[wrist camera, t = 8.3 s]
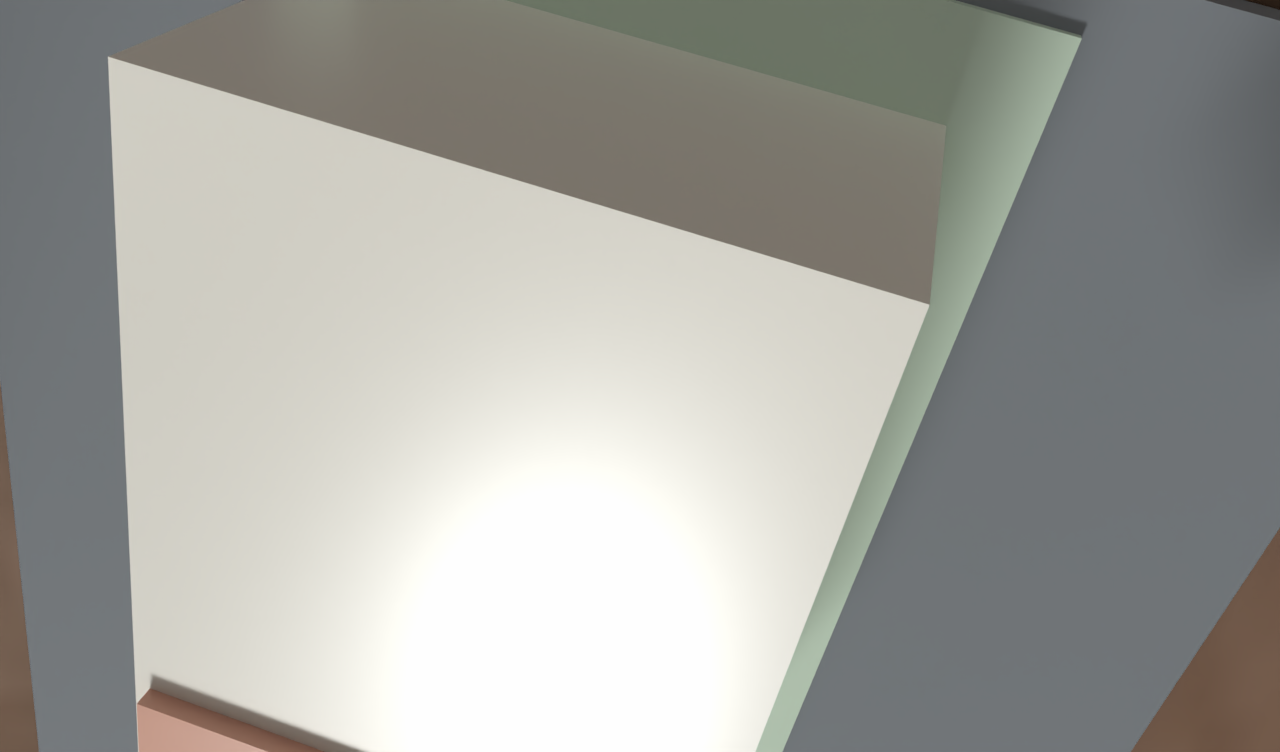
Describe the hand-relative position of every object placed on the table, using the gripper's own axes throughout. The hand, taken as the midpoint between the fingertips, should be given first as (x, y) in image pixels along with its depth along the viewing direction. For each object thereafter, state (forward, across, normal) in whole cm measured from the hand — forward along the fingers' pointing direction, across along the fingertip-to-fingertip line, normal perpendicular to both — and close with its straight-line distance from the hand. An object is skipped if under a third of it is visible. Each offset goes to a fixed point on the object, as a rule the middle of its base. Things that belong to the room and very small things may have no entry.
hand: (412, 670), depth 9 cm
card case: (+4, 0, 0) cm, 4 cm away
